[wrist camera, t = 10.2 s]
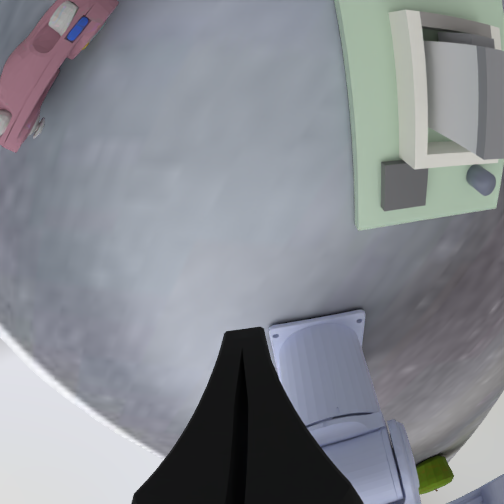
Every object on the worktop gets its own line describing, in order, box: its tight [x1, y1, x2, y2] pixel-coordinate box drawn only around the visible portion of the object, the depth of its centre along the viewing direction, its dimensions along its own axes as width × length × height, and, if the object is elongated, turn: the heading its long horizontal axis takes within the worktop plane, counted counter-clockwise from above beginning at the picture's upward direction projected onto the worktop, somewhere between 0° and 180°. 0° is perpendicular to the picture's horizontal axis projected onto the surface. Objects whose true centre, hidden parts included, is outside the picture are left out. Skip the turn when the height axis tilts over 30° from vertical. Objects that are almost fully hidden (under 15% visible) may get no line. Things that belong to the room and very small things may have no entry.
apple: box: [416, 455, 454, 495], centre depth 62 cm, size 12×12×11 cm
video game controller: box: [0, 0, 119, 153], centre depth 11 cm, size 10×5×7 cm, turn 132°
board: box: [334, 0, 504, 231], centre depth 14 cm, size 16×12×3 cm
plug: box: [424, 32, 504, 160], centre depth 11 cm, size 6×4×6 cm, turn 10°
